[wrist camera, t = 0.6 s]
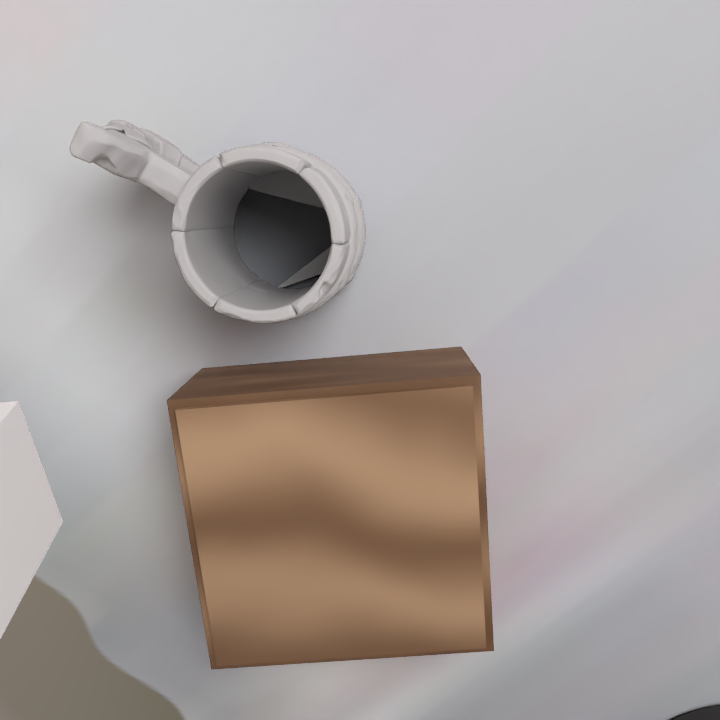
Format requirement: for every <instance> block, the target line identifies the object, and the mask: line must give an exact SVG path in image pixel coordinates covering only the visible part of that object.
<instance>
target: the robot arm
mask: <svg viewBox="0 0 720 720" xmlns="http://www.w3.org/2000/svg"><path fill="white" fill-rule="evenodd" d="M62 523H63V521H62V518H61V515H60V512H59V510H58V507H57V504H56V502H55V499H54V496H53V493H52V491H51V488H50V485H49V483H48V480H47V477H46V475H45V472H44V469H43V466H42V464H41V461H40V458H39V456H38V453H37V450H36V447H35V445H34V442H33V439H32V437H31V434H30V431H29V429H28V426H27V423H26V420H25V418H24V415H23V412H22V410H21V407H20V404H19V401H14V402H0V639H1V637H2V635H3V633H4V631H5V629H6V627H7V625H8V624H9V622H10V620H11V618H12V616H13V614H14V612H15V611H16V609H17V607H18V605H19V603H20V601H21V599H22V597H23V596H24V594H25V592H26V590H27V588H28V586H29V585H30V583H31V581H32V579H33V577H34V575H35V573H36V571H37V570H38V568H39V566H40V564H41V562H42V560H43V558H44V557H45V555H46V553H47V551H48V549H49V547H50V545H51V544H52V542H53V540H54V538H55V536H56V534H57V532H58V530H59V529H60V527H61V525H62ZM673 720H720V706H714V707H708V708H704V709H700V710H696V711H693V712H690V713H687V714H684V715H682V716H680V717H677V718H675V719H673Z"/></svg>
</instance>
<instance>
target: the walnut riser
mask: <svg viewBox="0 0 720 720" xmlns="http://www.w3.org/2000/svg"><path fill="white" fill-rule="evenodd" d="M167 404H168V410H169V416H170V422H171V428H172V434H173V440H174V446H175V452H176V458H177V464H178V470H179V476H180V482H181V488H182V494H183V500H184V507H185V513H186V519H187V525H188V531H189V537H190V543H191V549H192V555H193V561H194V567H195V573H196V579H197V585H198V591H199V597H200V603H201V609H202V615H203V621H204V627H205V633H206V639H207V645H208V651H209V657H210V663H211V669H223V668H239V667H254V666H269V665H284V664H300V663H315V662H330V661H345V660H361V659H376V658H391V657H407V656H422V655H437V654H452V653H468V652H483V651H494V644H493V624H492V603H491V582H490V561H489V540H488V520H487V499H486V478H485V457H484V436H483V415H482V395H481V375H480V373H479V372H478V370H477V369H476V367H475V366H474V364H473V363H472V362H471V360H470V359H469V357H468V356H467V354H466V353H465V351H464V350H463V348H462V347H452V348H440V349H428V350H416V351H404V352H392V353H380V354H369V355H357V356H345V357H333V358H321V359H309V360H297V361H285V362H273V363H261V364H250V365H238V366H226V367H214V368H202V369H201V370H200V371H199V372H198V373H197V374H196V375H195V376H193V377H192V378H191V379H190V380H189V381H188V382H187V383H186V384H185V385H183V386H182V387H181V388H180V389H179V390H178V391H177V392H176V393H175V394H173V395H172V396H171V397H170V398H169V399H168V400H167Z"/></svg>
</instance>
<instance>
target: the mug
mask: <svg viewBox="0 0 720 720" xmlns="http://www.w3.org/2000/svg"><path fill="white" fill-rule="evenodd" d="M70 153H71V155H72V156H74V157H76V158H79V159H81V160H84V161H86V162H89V163H91V162H93V163H95V164H97V165H98V166H100V167H102V168H104V169H106V170H107V171H109V172H111V173H112V174H114V175H117V176H120V177H123V178H126V179H130V180H132V181H135V182H138V183H141V184H143V185H144V186H145V187H147V188H148V189H150V190H152V191H153V192H155V193H157V194H158V195H160V196H161V197H163V198H164V199H166V200H167V201H169V202H171V203H172V204H174V205H175V207H174V211H173V216H172V229H173V230H176V231H173V232H172V233H171V238H172V240H173V242H174V255H175V258H176V261H177V264H178V266H179V269H180V271H181V274H182V276H183V278H184V279H185V281H186V282H187V284H188V285H189V287H190V288H191V289H192V291H193V292H194V293H195V294H196V295H197V296H198V297H199V298H200V299H201V300H202V301H203V302H204V303H205V304H207V305H208V306H209V307H214V306H215V307H214V310H215V311H217V312H219V313H221V314H224V315H227V316H229V317H232V318H235V319H240V320H244V321H248V322H254V323H275V322H280V321H284V320H290V319H294V318H298V317H301V316H303V315H306V314H308V313H310V312H312V311H314V310H316V309H318V308H319V307H321V306H322V305H323V304H325V303H326V302H327V301H328V300H329V299H330V298H332V297H333V296H335V295H336V294H337V293H339V292H340V291H341V290H342V289H343V288H344V286H345V285H346V284H348V283H349V282H350V281H351V280H352V278H353V276H354V274H355V271H356V269H357V267H358V265H359V263H360V260H361V258H362V254H363V250H364V245H365V233H366V227H365V219H364V214H363V210H362V207H361V206H362V204H361V200H360V198H359V196H358V194H357V193H356V192H355V191H354V189H353V188H352V186H351V185H350V183H349V182H348V181H347V179H346V178H345V177H344V176H343V175H342V174H341V173H340V172H339V171H338V170H337V169H336V168H334V167H333V166H332V165H330V164H329V163H327V162H326V161H324V160H322V159H321V158H318V157H316V156H314V155H312V154H308V153H305V152H303V151H300V150H298V149H295V148H292V147H290V146H286V145H284V144H283V143H278V142H268V143H262V144H258V145H252V146H246V147H239V148H234V149H231V150H228V151H225V152H222V153H220V158H219V157H216V156H215V157H213V158H211V159H209V160H208V161H206V162H205V163H204V164H202V165H201V166H199V165H198V164H196V163H195V162H194V161H192V160H191V159H190V158H188V157H187V156H185V155H183V154H182V153H181V151H180V150H179V149H178V148H177V147H176V146H174V145H173V144H171V143H170V142H168V141H167V140H165V139H164V138H162V137H161V136H159V135H157V134H156V133H154V132H152V131H149V130H145V129H141V128H138V127H136V126H134V125H132V124H130V123H128V122H125V121H122V120H112V121H110V122H109V124H107V125H106V126H103V127H99V126H97V125H94V124H92V123H88V122H83V123H81V124H80V125H79V127H78V129H77V131H76V133H75V135H74V138H73V140H72V142H71V145H70ZM298 174H299V175H300V176H299V175H298ZM248 189H251V190H255V191H259V192H263V193H266V194H270V195H274V196H278V197H282V198H286V199H289V200H293V201H297V202H301V203H305V204H309V205H313V206H316V207H320V208H324V209H325V211H326V213H327V216H328V220H329V224H330V231H331V242H332V244H331V247H329V248H328V249H327V250H325V251H324V252H323V253H321V254H320V255H319V256H317V257H316V258H315V259H313V260H312V261H311V262H309V263H308V264H307V265H305V266H304V267H303V268H302V269H300V270H299V271H298V272H296V273H295V274H294V275H292V276H291V277H290V278H288V279H287V280H286V281H284V282H283V283H282V284H280V285H279V286H278V287H275V286H273V285H270V284H268V283H267V282H265V281H263V280H260V279H259V277H258V276H256V275H255V274H254V273H252V272H251V271H250V270H249V269H248V267H247V266H246V265H245V264H244V262H243V261H242V259H241V257H240V255H239V253H238V250H237V247H236V244H235V238H234V228H233V226H234V220H235V214H236V210H237V207H238V205H239V203H240V201H241V199H242V197H243V196H244V194H245V193H246V192H247V191H248ZM319 274H321V276H320V277H319V279H318V280H317V281H316V283H315V284H314V285H312V286H309V287H306V288H301V289H284V288H283V287H285V286H288V285H291V284H294V283H297V282H299V281H302V280H305V279H308V278H311V277H313V276H316V275H319Z"/></svg>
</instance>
